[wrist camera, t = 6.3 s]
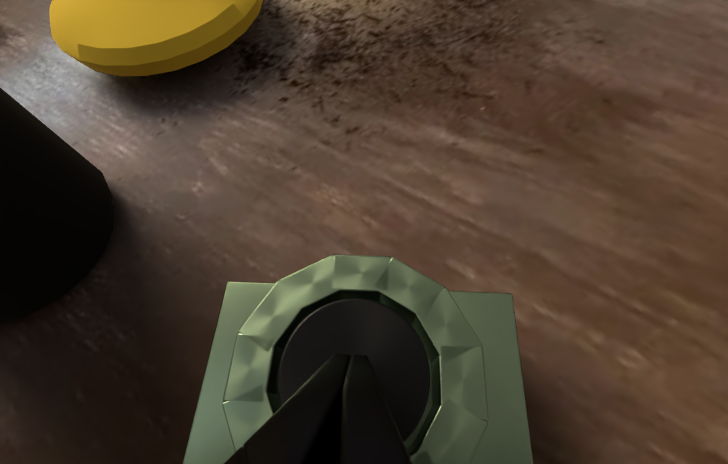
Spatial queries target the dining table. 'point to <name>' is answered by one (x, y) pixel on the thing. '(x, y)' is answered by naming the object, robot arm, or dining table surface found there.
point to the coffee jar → (45, 213)
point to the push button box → (425, 314)
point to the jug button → (363, 337)
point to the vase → (148, 32)
